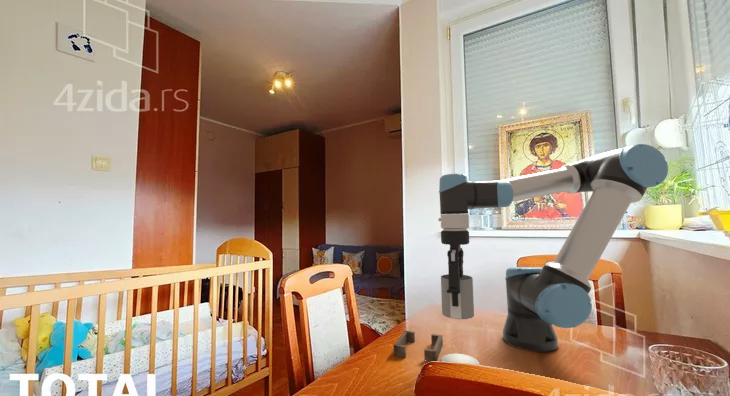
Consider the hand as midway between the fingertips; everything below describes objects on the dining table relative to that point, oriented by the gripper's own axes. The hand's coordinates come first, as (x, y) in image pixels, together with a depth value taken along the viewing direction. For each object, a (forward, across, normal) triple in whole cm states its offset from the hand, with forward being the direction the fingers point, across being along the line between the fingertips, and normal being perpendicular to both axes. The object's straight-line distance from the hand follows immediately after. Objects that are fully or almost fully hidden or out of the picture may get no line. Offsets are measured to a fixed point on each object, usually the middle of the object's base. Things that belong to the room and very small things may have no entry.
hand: (457, 312), depth 82 cm
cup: (+1, 0, 0) cm, 1 cm away
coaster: (+14, 0, 0) cm, 14 cm away
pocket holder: (+14, -4, -12) cm, 18 cm away
